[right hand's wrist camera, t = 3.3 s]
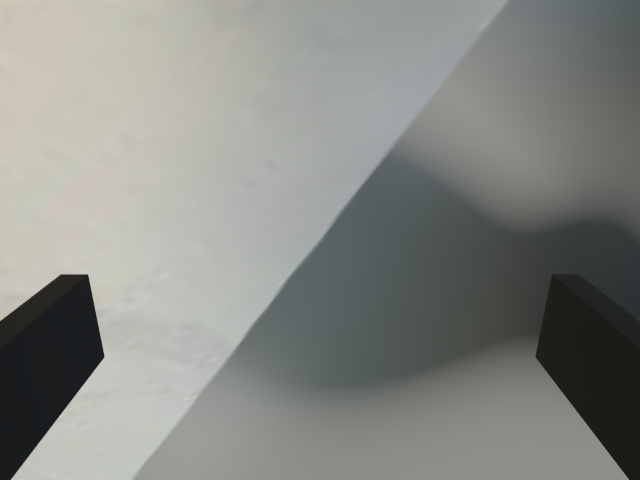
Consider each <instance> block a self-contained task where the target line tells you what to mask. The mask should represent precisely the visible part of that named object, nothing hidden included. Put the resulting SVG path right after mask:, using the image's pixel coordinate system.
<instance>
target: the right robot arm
mask: <svg viewBox="0 0 640 480" xmlns="http://www.w3.org/2000/svg"><path fill="white" fill-rule="evenodd" d="M103 358H104V352H103V347H102V342H101V337H100V332H99V327H98V322H97V317H96V312H95V307H94V302H93V297H92V292H91V287H90V282H89V277H88V275H60V276H58V277H57V278H56V279H55V280H53V281H52V282H51V283H49V284H48V285H47V286H45V287H44V288H43V289H42V290H40V291H39V292H38V293H36V294H35V295H34V296H32V297H31V298H30V299H29V300H27V301H26V302H25V303H23V304H22V305H21V306H19V307H18V308H17V309H16V310H14V311H13V312H12V313H10V314H9V315H8V316H6V317H5V318H4V319H3V320H1V321H0V480H11V479H12V477H13V476H14V475H15V473H16V472H17V471H18V469H19V468H20V467H21V466H22V464H23V463H24V462H25V460H26V459H27V458H28V456H29V455H30V454H31V452H32V451H33V450H34V449H35V447H36V446H37V445H38V443H39V442H40V441H41V439H42V438H43V437H44V435H45V434H46V433H47V432H48V430H49V429H50V428H51V426H52V425H53V424H54V422H55V421H56V420H57V418H58V417H59V416H60V415H61V413H62V412H63V411H64V409H65V408H66V407H67V405H68V404H69V403H70V401H71V400H72V399H73V398H74V396H75V395H76V394H77V392H78V391H79V390H80V388H81V387H82V386H83V384H84V383H85V382H86V381H87V379H88V378H89V377H90V375H91V374H92V373H93V371H94V370H95V369H96V367H97V366H98V365H99V364H100V362H101V361H102V360H103ZM536 358H537V360H538V361H539V362H540V364H541V365H542V366H543V367H544V369H545V370H546V371H547V373H548V374H549V375H550V377H551V378H552V379H553V381H554V382H555V383H556V384H557V386H558V387H559V388H560V390H561V391H562V392H563V394H564V395H565V396H566V398H567V399H568V400H569V401H570V403H571V404H572V405H573V407H574V408H575V409H576V411H577V412H578V413H579V415H580V416H581V417H582V418H583V420H584V421H585V422H586V424H587V425H588V426H589V428H590V429H591V430H592V432H593V433H594V434H595V435H596V437H597V438H598V439H599V441H600V442H601V443H602V445H603V446H604V447H605V449H606V450H607V451H608V452H609V454H610V455H611V456H612V458H613V459H614V460H615V462H616V463H617V464H618V466H619V467H620V468H621V469H622V471H623V472H624V473H625V475H626V476H627V477H628V479H629V480H640V321H639V320H637V319H636V318H635V317H633V316H632V315H631V314H630V313H628V312H627V311H626V310H624V309H623V308H622V307H621V306H619V305H618V304H617V303H615V302H614V301H613V300H611V299H610V298H609V297H608V296H606V295H605V294H604V293H602V292H601V291H600V290H598V289H597V288H596V287H595V286H593V285H592V284H591V283H589V282H588V281H587V280H585V279H584V278H583V277H581V276H580V275H552V277H551V282H550V287H549V292H548V297H547V302H546V307H545V312H544V317H543V322H542V327H541V332H540V337H539V342H538V347H537V352H536Z"/></svg>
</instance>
